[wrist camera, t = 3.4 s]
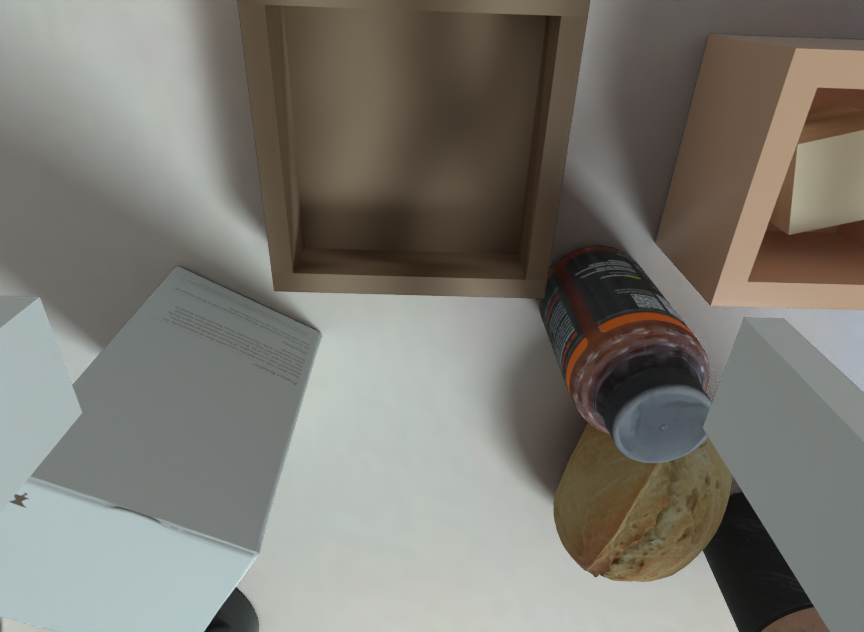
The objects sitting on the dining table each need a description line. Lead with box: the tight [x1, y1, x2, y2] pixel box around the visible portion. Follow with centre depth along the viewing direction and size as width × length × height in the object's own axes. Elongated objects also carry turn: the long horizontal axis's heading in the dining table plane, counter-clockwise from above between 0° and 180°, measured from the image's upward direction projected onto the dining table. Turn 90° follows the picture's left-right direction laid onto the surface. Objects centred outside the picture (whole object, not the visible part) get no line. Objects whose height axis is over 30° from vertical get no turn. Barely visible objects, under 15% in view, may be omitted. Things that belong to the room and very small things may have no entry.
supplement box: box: [0, 267, 322, 632], centre depth 27 cm, size 9×9×15 cm
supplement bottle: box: [538, 246, 712, 463], centre depth 26 cm, size 6×6×11 cm
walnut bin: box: [237, 0, 590, 299], centre depth 25 cm, size 13×13×4 cm
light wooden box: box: [655, 34, 864, 310], centre depth 24 cm, size 10×10×7 cm
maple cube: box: [769, 103, 864, 235], centre depth 25 cm, size 4×4×4 cm
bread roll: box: [554, 423, 733, 582], centre depth 34 cm, size 10×15×8 cm, turn 171°
